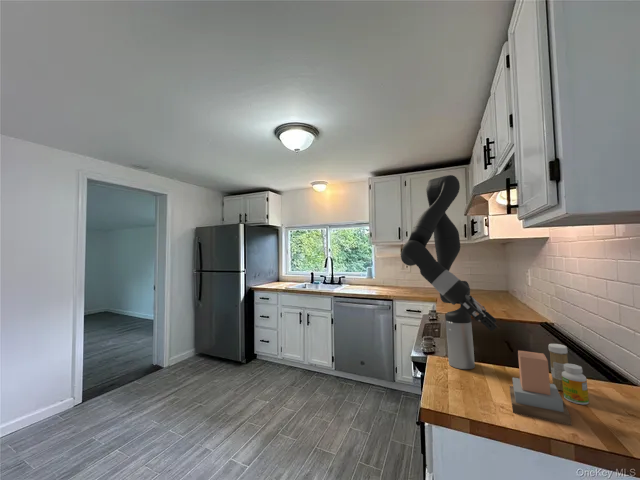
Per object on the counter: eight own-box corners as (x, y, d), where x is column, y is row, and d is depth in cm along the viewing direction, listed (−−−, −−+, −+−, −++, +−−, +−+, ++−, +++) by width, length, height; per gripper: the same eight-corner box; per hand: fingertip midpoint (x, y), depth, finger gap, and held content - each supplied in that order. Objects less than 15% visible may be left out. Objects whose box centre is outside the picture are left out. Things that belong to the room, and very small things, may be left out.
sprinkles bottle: (554, 384, 89) (550, 342, 90) (572, 388, 86) (568, 345, 87) (550, 388, 86) (546, 345, 87) (570, 393, 83) (565, 348, 84)
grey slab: (513, 387, 83) (512, 377, 83) (555, 395, 78) (554, 384, 78) (515, 402, 75) (514, 391, 75) (563, 412, 69) (562, 400, 69)
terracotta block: (520, 381, 80) (517, 350, 81) (546, 386, 77) (543, 353, 78) (522, 390, 75) (520, 356, 76) (550, 395, 72) (547, 360, 73)
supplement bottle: (559, 398, 80) (556, 364, 81) (570, 394, 82) (567, 361, 83) (582, 406, 75) (578, 370, 76) (593, 402, 77) (589, 367, 78)
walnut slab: (510, 395, 84) (509, 385, 84) (561, 405, 78) (560, 394, 78) (513, 415, 74) (512, 403, 74) (571, 428, 67) (570, 415, 68)
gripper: (456, 280, 82) (505, 322, 75) (460, 277, 94) (503, 313, 87) (438, 297, 84) (484, 339, 77) (445, 292, 96) (485, 328, 89)
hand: (494, 325), depth 82 cm, fingers open, 8 cm apart
